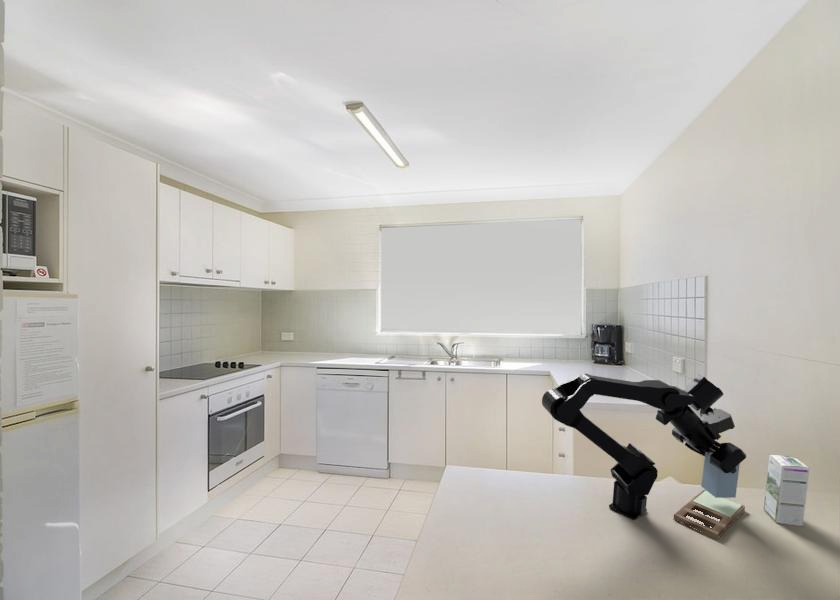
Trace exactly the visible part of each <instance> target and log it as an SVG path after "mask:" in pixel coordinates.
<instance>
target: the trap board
mask: <svg viewBox="0 0 840 600" xmlns="http://www.w3.org/2000/svg"><path fill="white" fill-rule="evenodd" d="M745 508H746V506H745V505H743V504H741V503H738V502H736V501H733V500H730V498H715V497H714V496H713V495H712V494H710V493H709V492H708V491H707V490H705V489H703V490H702V491H701V492H699V493H698V494H696V496H694V497H693V498H692V499H691V500H690V501H688V502H687V503H686V504H685V505H684V506H682V507H681V508H680V509H679V510H678V511H677V512H676V513H674V514H673V520H674V519H676V520H678V521H680V522H682V523H681V524H683V523H684V524H683V525H685V524H686V525H685V526H687V525H688V526H687V527H689V526H691V527H693V528H695V529H697V530H696V531H698V530H699V531H698V532H700V531H701V532H700V533H702V532H703V533H702V534H704V533H705V534H704V535H706V534H707V535H706V536H708V535H709V537H710V536H711V538H713V539H715V540H718V539H717V538H718V537H719V536H720V535H721V534H722V535H723V534H724V533H725V532H726V530H728V529H729V527H731V525H732V524H733V523H734V522H735V521H736V520H737V519H738V518H739V517H740V516H741V515H742V514H743V513H744V512H745V510H746V509H745ZM695 509H696V510H698V511H701V512H703V514H704V515H702V514H700V513H698V512H695V511H693V510H695ZM743 511H744V512H743ZM742 512H743V513H742ZM741 513H742V514H741ZM740 514H741V515H740ZM687 515H688V516H690V517H693V518H694V519H697V520H699V521H701V522H703V523H704V525H705V526H703V524H702V525H701V524H699V523H697V522H694V521H692V520H690V519H688V518H686V516H687ZM705 515H709V516H710V517H711V516H712V517H715V518H717V519H720V521H719V522H718V521H716V520H714V519H711V518H709V517H707V516H705ZM739 515H740V516H739ZM738 516H739V517H738ZM737 517H738V518H737ZM736 518H737V519H736ZM735 519H736V520H735ZM676 520H675V521H676ZM734 520H735V521H734ZM678 521H677V522H678ZM733 521H734V522H733ZM680 522H679V523H680ZM710 526H711V527H712V528H710ZM691 527H690V528H691ZM693 528H692V529H693ZM695 529H694V530H695ZM722 535H721V536H722ZM721 536H720V537H721ZM720 537H719V538H720Z"/></svg>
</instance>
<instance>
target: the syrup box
mask: <svg viewBox="0 0 840 600" xmlns="http://www.w3.org/2000/svg"><path fill="white" fill-rule="evenodd" d="M768 456H769V459H768V464H767V465H768V466H767V476H766V485H765V495H764V505H763V510H764V511H765V512H766V513H767V514H768V516H769V517H770V518H771V519H772V520H773V521H774V522H775V523H778V524H781V525H788V526H789V525H790V526H799V527H803V526H804V519H805V511H806V510H805V509H806V503H807V502H806V501H807V494H808V493H807V492H808V486H809V478H810V477H809V476H810V467H809V466H807V465H806V464H805V463H803V462H802V461H800V460H799V459H798V458H797V457H795V456H791V455H783V454H769V455H768Z"/></svg>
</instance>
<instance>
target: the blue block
mask: <svg viewBox="0 0 840 600" xmlns="http://www.w3.org/2000/svg"><path fill="white" fill-rule="evenodd" d="M711 454H713V452H710V453H707V452H705V456H704V460H703V461H704V462H703V467H702V468H703V471H702V478H701V488H703V490H706V491H708V492H709V493H710V494H712V495H713V496H714V497H715V498H726V499H730V498H736V495H737V488H738V480H739V473H740V465H741V463H740V464H739V465H737V466H736V470H737V471H736V472H735V473H734V474H733V473H730V472H729V473H724V472H722V471H721V470H720V469H718V468H717V467H715V466H714V465H712V464H711V463H710V455H711Z"/></svg>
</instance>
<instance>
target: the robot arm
mask: <svg viewBox="0 0 840 600" xmlns="http://www.w3.org/2000/svg"><path fill="white" fill-rule="evenodd" d="M594 395H597V396H603V397H610V398H616V399H622V400H623V399H624V400H630V401H637V402H641V403H643V404H646V405H648V406H651V407H652V408H655V409H658V410H657V411H656V412H657V414H655V415H656V416H655V420H656V421H658V422H659V423H661V424H662V425H663V426H667V425H668V424H669V423H670V424H671V425H672V426H673V427H674V428H673V429H672V430H671V431H672V432H671V435H672V436H673V437H674V439H675V440H677V441H678V442H680V443H681V444H684V446H685V447H687V448H688V449H689V450H691V451H693V452H695V453H697V454H699V455H701V456H703V457H705V452H707V453H710V452H713V454H711V455H710V463H711V464H712V465H714V466H715V467H717V468H718V469H720V470H721V471H722V472H724V473H729V472H730V473H733V474H734V473H735V472H736V471H737V470H736V466H737V465H739V464H740V465H741V463H742V462H743V461H744V460H745V459H746V458H747V454H746V453H745V452H744V450H743V449H741V448H740V447H738V446H736V445H735V444H733V443H732V442H721V443H720V442H718V440H720V439H721V438H722V435H721V434H722V433H724V432H726V431H728V430H733V429H735V427H736V426H735V423H734V420H733V417H732V414H731V413H729V412H727V411H725V410H723V409H721V408H716V407H714V408H713V407H711V406H713V405H714V404H715V403H716V402H718V400H719V399H721V398H722V397H723V396H724V391H722V389H721V388H720V387H718V386H717V385H715V384H714V383H713V382H712V381H709V380H708V379H707V378H706V377H705V376H703V375H701V374H698V375H697V376H695V377H694V379H693V380H692V381H691V382H690V383H688V384H687V385H686V387H685V388H683V389H682V388H680V387H677V386H676V385H675V386H674V385H669V384H668V383H666V382H663V381H662V380H659V379H650V380H649V379H644V380H641V381H630V380H625V379H624V380H623V379H616V378H611V377H610V378H609V377H604V376H598V375H591V374H589V373H581V374H579V375H578V376H576V377H574V378H573V379H570V380H567V381H565V382H563V383H561V384H558V385H557V386H555V388H552V389H551V388H550V389H548V390H546V391H545V392H544V394H543V396H542V398H541V404H542V407H543V408H544V409H545V410H546V411H547V413H549V414H550V415H551V417H552V418H553V419H554V420H555V421H557V422H559V423H561V424H563V425H564V426H566V427H569V428H573V429H575V430H577V431H578V432H579V433H581V434H582V435H583V436H584V437H585V438H587V440H589V441H590V442H592V443H593V444H594V445H596V446H597V447H598V448H599V449H601V450H602V451H603V452H604V453H606V454H607V455H608V456H610V457H611V458H613V459H614V461H615V462H616V463H615V464H614V466H613V467H612V468H610V473H611V477H612V478H613V479H614V480H615V481H614V482H613V491H612V492H613V494H612V503H610V504H609V505H608V508H609V509H611V510H613V511H614V512H617V513H619V514H621V515H623V516H625V517H627V518H629V519H631V520H633V521H634V520H637V519H638V518H640V517H642V515H644V514H645V513H646V512H647V511H648V509H647V501H648V498H647V496H648V495H649V494H650V492H651V490H652V488H653V486H654V483H655V482H656V480H657V479H658V473H659V471H658V469H657V467H656V466H655V465H656V463H655V462H654V461H653V460H652V459H651V458H650V457H649V456H647V455H646V454H645V453H644V452H642V450H640V449H638V448H637V447H636V446H635V445H633V444H632V443H631V442H629V443H628V444H627V446H625V445H622V444H620V443H619V441H617V440H615V439H614V438H613V437H612V436H611V435H610V434H608V433H606V431H604V430H603V429H602V428H601V427H599V426H598V425H597V424H595V423H594V422H593V421H592V420H590V419H589V418H588V417H587V416H585V415H584V413H583V412H582V411H581V409H582V408H584V406H585V405H586V404H587V403H588V401H589V399H590V398H591V397H593V396H594ZM693 409H694V410H693ZM695 411H697V412H698V411H699V415H700V416H698V414H697V413H696V412H695ZM684 442H685V443H684Z"/></svg>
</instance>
